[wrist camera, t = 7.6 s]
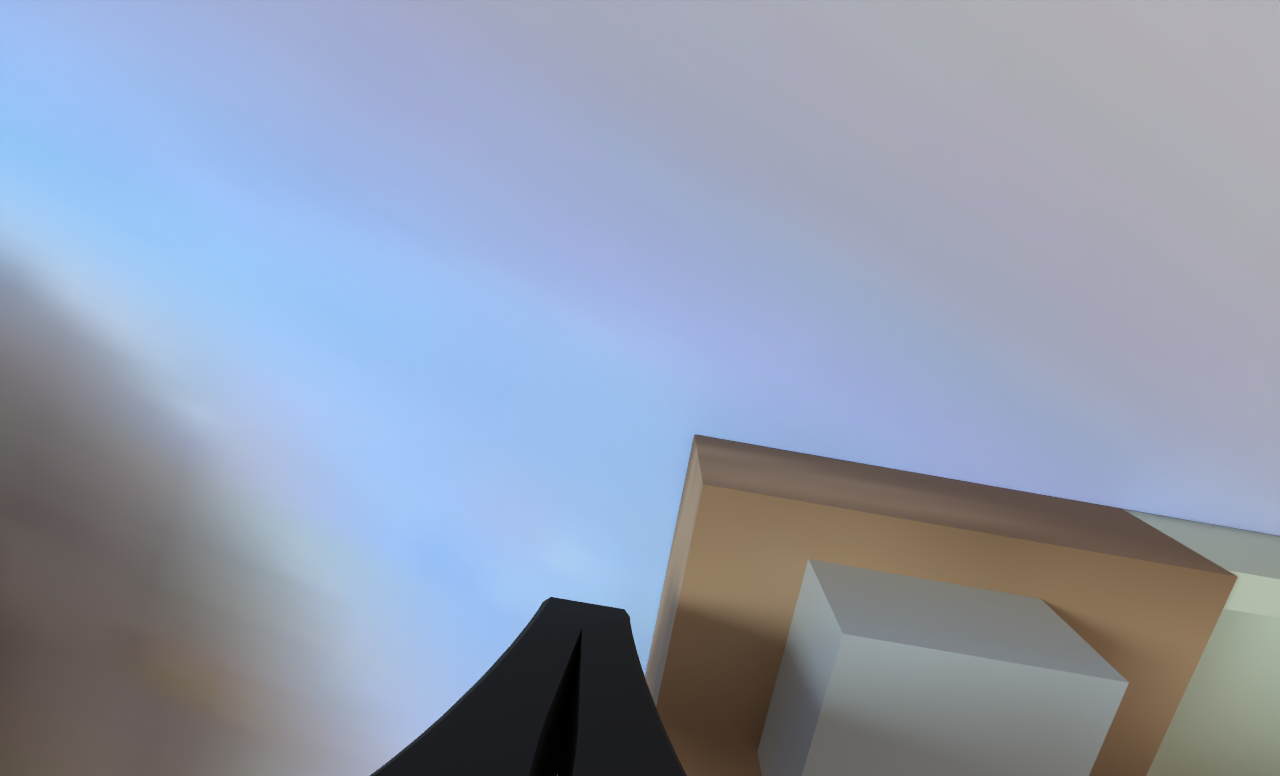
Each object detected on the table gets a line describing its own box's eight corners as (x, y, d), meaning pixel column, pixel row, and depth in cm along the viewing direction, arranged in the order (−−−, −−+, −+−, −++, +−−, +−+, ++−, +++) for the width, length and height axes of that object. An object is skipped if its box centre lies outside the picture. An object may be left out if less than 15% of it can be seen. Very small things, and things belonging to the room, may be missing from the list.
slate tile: (969, 787, 11) (1034, 901, 9) (757, 751, 11) (777, 858, 9) (1041, 598, 10) (1128, 683, 8) (808, 558, 10) (842, 633, 8)
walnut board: (952, 936, 16) (1009, 1072, 13) (604, 878, 15) (593, 1004, 13) (1122, 508, 13) (1238, 577, 10) (694, 434, 13) (703, 484, 10)
